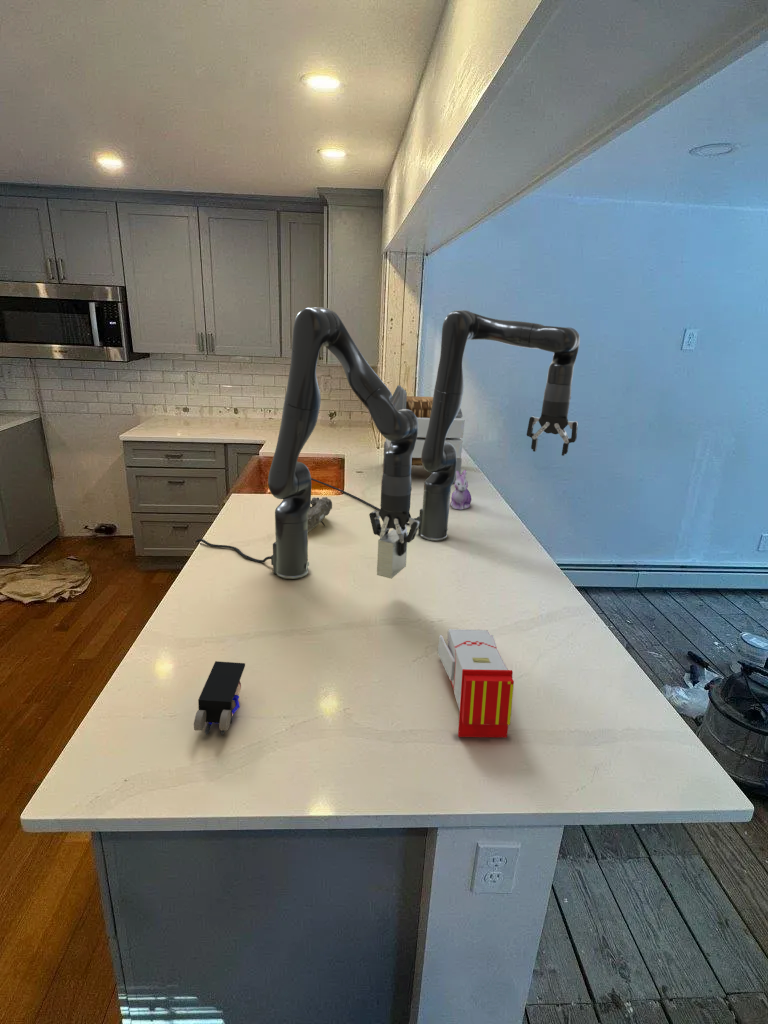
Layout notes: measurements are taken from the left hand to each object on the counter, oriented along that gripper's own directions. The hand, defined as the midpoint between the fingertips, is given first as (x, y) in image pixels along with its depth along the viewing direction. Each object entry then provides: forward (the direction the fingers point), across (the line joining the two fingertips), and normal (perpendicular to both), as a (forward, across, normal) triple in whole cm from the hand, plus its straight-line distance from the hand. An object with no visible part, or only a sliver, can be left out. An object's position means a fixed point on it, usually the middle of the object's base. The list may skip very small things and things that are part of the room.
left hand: (392, 552), depth 148 cm
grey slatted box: (+15, -45, +123) cm, 131 cm away
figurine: (+15, -11, +87) cm, 89 cm away
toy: (+15, +31, -25) cm, 43 cm away
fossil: (+15, -49, +37) cm, 63 cm away
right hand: (-21, +27, +49) cm, 60 cm away
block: (+5, 0, 0) cm, 5 cm away
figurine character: (+15, -8, -56) cm, 59 cm away
